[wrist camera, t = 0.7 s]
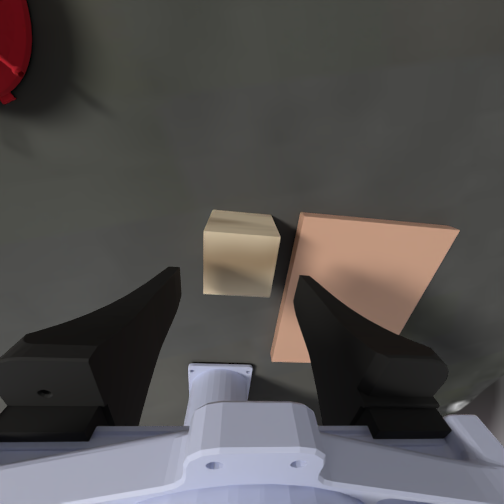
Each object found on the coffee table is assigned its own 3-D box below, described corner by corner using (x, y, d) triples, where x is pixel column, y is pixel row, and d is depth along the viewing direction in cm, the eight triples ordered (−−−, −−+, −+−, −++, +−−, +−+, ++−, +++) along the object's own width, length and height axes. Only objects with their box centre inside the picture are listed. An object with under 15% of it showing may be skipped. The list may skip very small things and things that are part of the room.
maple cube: (263, 264, 21) (269, 297, 16) (211, 260, 20) (203, 293, 16) (270, 214, 18) (280, 237, 14) (212, 209, 18) (203, 231, 13)
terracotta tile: (376, 356, 28) (381, 364, 26) (270, 352, 26) (271, 361, 25) (447, 225, 19) (460, 230, 18) (300, 212, 18) (304, 216, 17)
